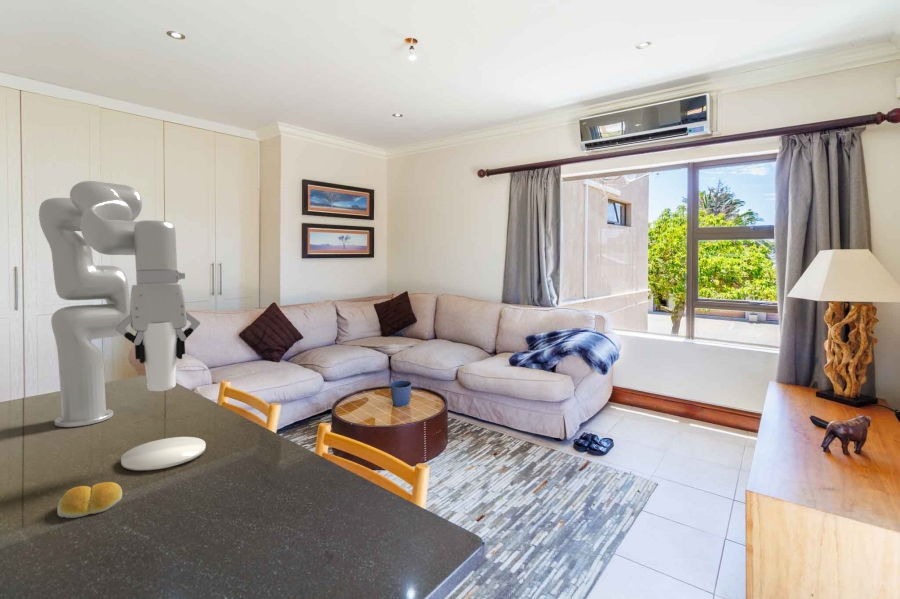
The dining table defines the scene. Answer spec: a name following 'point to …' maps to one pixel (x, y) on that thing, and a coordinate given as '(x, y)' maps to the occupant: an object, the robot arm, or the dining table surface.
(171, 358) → the white cup
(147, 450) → the cream dish
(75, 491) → the bread roll
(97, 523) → the dining table surface
